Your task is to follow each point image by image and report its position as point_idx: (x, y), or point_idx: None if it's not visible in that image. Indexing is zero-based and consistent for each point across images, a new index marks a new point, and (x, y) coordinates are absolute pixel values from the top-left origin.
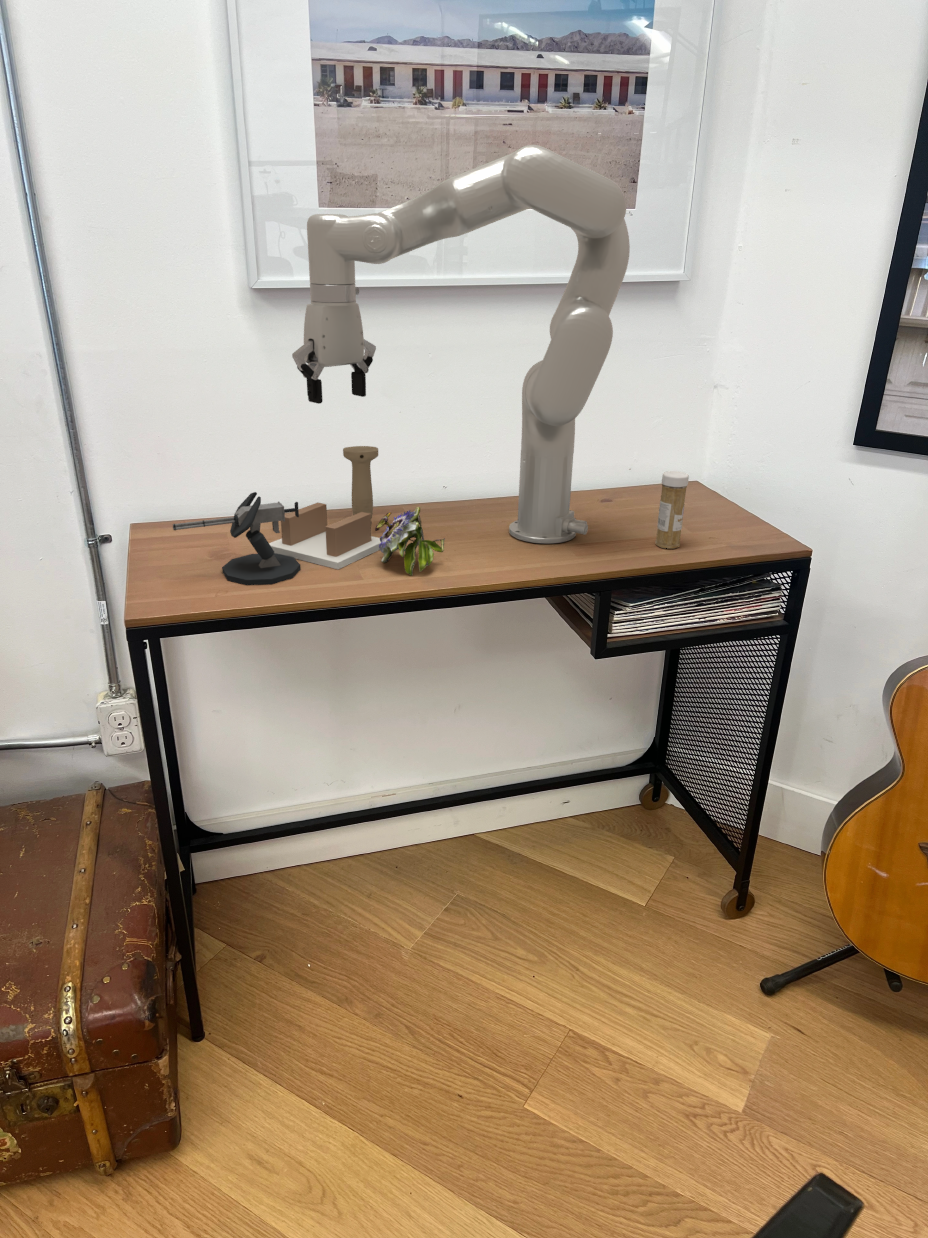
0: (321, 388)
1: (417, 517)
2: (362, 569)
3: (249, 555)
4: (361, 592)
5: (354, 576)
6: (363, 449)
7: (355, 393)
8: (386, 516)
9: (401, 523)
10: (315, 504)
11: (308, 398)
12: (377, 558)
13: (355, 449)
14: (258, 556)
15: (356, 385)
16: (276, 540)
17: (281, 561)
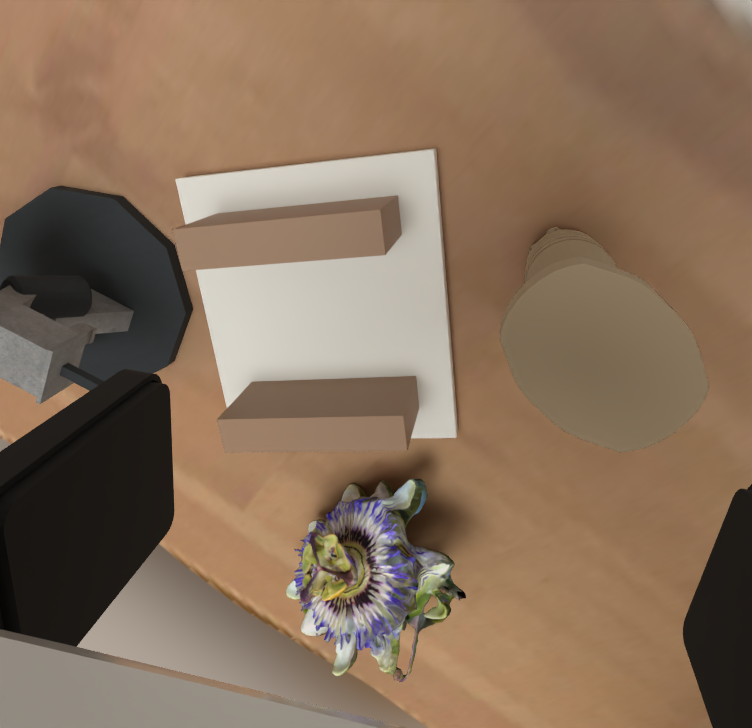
0: (92, 618)
1: (433, 610)
2: (284, 474)
3: (101, 204)
4: (193, 544)
5: (241, 485)
6: (607, 378)
7: (720, 548)
8: (335, 575)
9: (336, 619)
10: (355, 222)
11: (117, 377)
12: (365, 460)
13: (578, 342)
14: (117, 231)
15: (748, 641)
16: (221, 175)
17: (143, 312)
